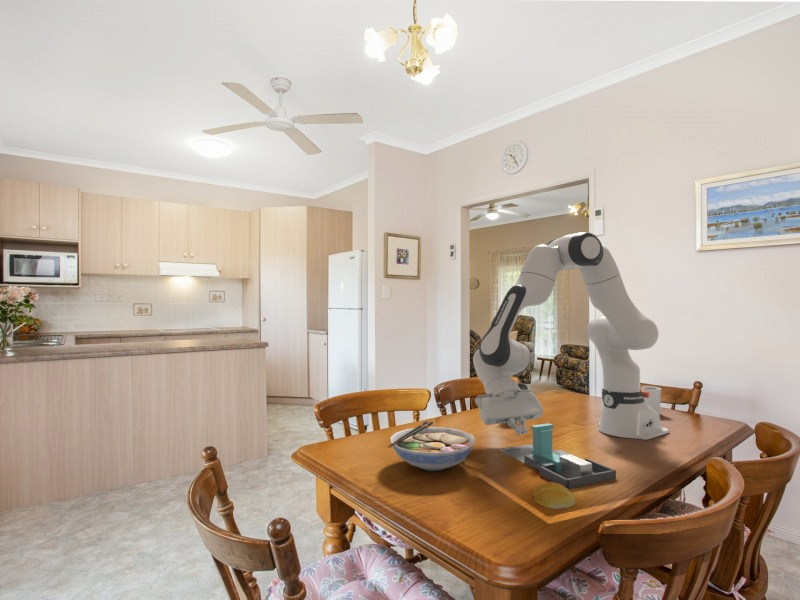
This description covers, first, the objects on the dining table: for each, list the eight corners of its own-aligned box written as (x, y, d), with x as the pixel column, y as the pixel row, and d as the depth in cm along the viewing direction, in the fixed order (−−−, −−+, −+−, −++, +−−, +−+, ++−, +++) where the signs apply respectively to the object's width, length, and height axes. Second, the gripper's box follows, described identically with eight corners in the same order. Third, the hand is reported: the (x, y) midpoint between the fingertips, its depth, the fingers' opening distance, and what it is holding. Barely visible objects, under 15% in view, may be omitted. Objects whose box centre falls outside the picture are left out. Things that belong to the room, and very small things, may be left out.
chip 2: (581, 475, 105) (580, 458, 105) (592, 480, 102) (592, 463, 102) (569, 477, 104) (569, 460, 104) (580, 482, 101) (580, 465, 101)
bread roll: (535, 512, 89) (535, 493, 89) (533, 494, 98) (532, 476, 98) (578, 516, 87) (578, 496, 87) (571, 497, 96) (571, 479, 96)
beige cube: (570, 470, 109) (570, 454, 109) (581, 475, 105) (580, 458, 105) (559, 472, 107) (559, 456, 107) (569, 477, 104) (569, 460, 104)
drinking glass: (665, 415, 166) (665, 389, 166) (648, 415, 166) (647, 389, 166) (655, 411, 173) (654, 386, 173) (638, 411, 172) (638, 386, 173)
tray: (587, 470, 111) (586, 458, 111) (616, 483, 103) (615, 470, 103) (540, 478, 106) (539, 466, 106) (566, 493, 97) (566, 480, 97)
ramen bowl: (455, 492, 98) (454, 456, 98) (371, 474, 110) (370, 442, 110) (488, 458, 120) (488, 429, 120) (415, 446, 131) (415, 419, 131)
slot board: (531, 447, 129) (531, 437, 129) (582, 470, 111) (582, 459, 111) (497, 452, 125) (497, 442, 125) (545, 478, 106) (544, 465, 106)
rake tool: (546, 456, 118) (546, 422, 118) (573, 469, 109) (573, 431, 109) (528, 459, 116) (528, 424, 116) (554, 473, 107) (554, 434, 107)
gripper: (477, 389, 127) (496, 431, 118) (533, 384, 135) (555, 423, 126) (469, 401, 131) (487, 443, 122) (524, 396, 139) (545, 435, 130)
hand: (522, 433), depth 124 cm, fingers closed
